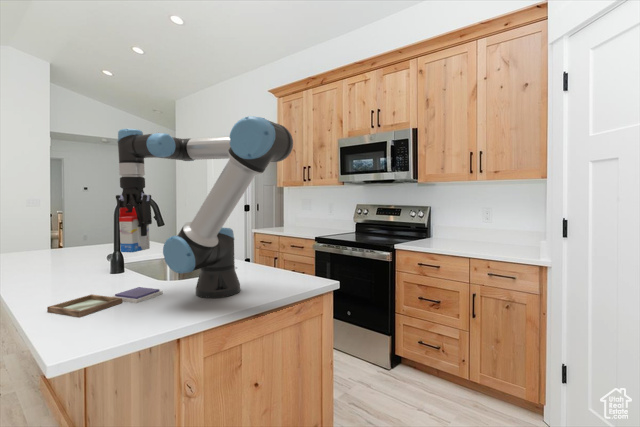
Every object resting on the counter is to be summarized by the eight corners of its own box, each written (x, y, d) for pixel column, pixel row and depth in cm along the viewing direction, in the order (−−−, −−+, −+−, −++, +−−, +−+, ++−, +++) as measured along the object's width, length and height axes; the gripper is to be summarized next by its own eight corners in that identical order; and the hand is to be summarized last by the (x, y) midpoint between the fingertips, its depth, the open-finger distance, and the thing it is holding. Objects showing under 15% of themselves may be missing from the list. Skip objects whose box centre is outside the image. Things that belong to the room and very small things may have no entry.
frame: (122, 302, 117) (122, 298, 116) (79, 317, 103) (79, 312, 103) (91, 298, 122) (91, 294, 121) (47, 311, 109) (47, 307, 108)
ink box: (133, 252, 118) (131, 207, 117) (120, 252, 119) (118, 207, 118) (150, 248, 126) (148, 206, 125) (138, 248, 127) (136, 206, 126)
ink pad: (162, 293, 127) (162, 288, 126) (136, 302, 116) (136, 297, 116) (139, 291, 130) (138, 286, 130) (111, 299, 120) (111, 294, 120)
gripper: (162, 176, 121) (165, 244, 122) (121, 177, 128) (125, 242, 129) (144, 175, 114) (147, 248, 115) (102, 176, 121) (105, 245, 122)
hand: (135, 245), depth 122 cm, fingers closed on ink box, 5 cm apart
